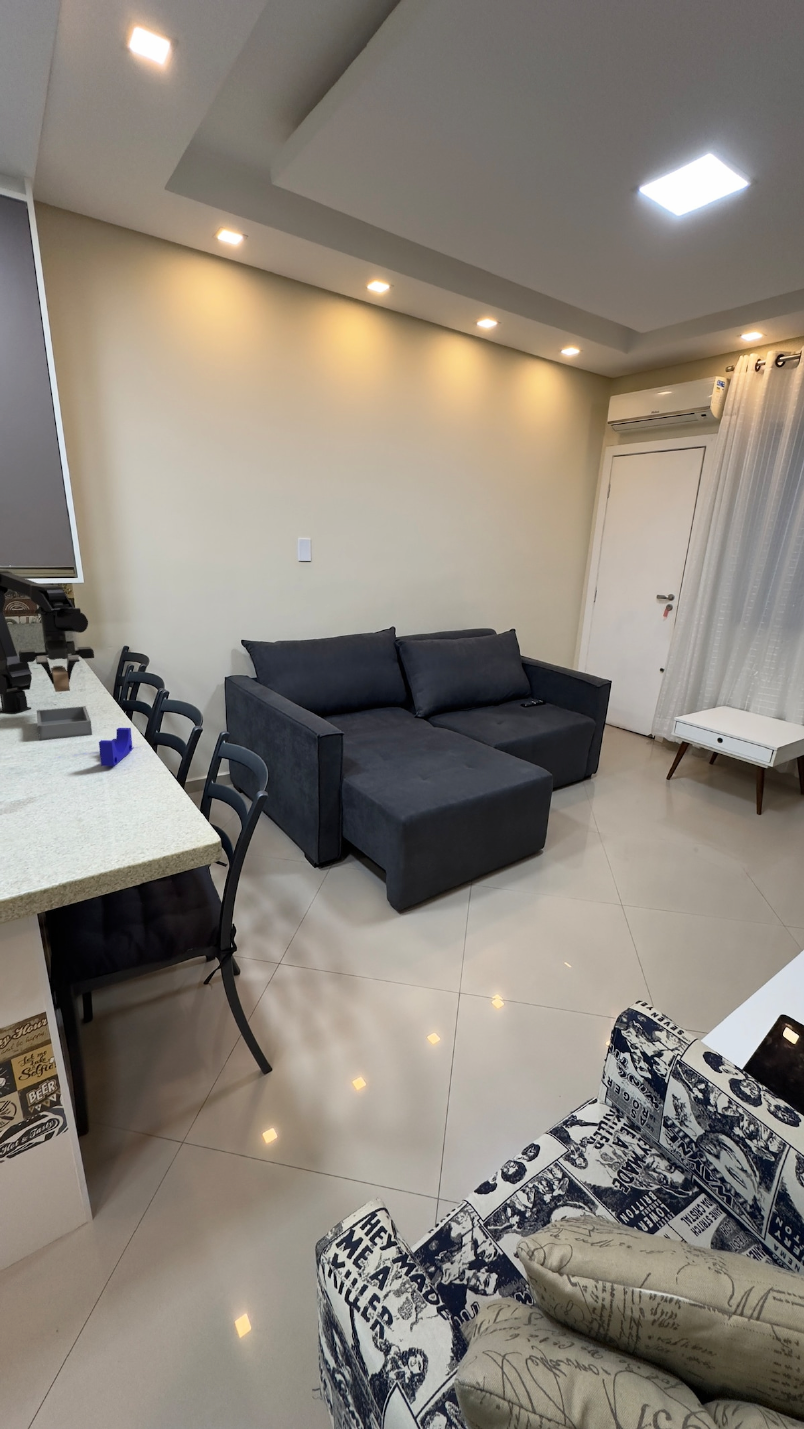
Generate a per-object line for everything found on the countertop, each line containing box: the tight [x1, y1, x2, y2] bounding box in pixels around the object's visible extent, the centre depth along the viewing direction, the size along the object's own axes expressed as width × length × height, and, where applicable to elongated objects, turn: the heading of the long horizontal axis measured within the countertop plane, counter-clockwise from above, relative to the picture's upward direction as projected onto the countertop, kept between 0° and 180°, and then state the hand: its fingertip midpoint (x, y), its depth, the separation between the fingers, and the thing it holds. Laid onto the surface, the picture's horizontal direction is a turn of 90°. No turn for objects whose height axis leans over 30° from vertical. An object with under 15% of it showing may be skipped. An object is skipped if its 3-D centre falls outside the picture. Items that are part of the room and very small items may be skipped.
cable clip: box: [98, 727, 133, 767], centre depth 147 cm, size 12×4×6 cm, turn 4°
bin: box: [36, 705, 93, 741], centre depth 167 cm, size 18×13×4 cm
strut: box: [50, 665, 71, 693], centre depth 172 cm, size 4×12×6 cm, turn 33°
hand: (60, 683), depth 173 cm, fingers closed on strut, 4 cm apart
